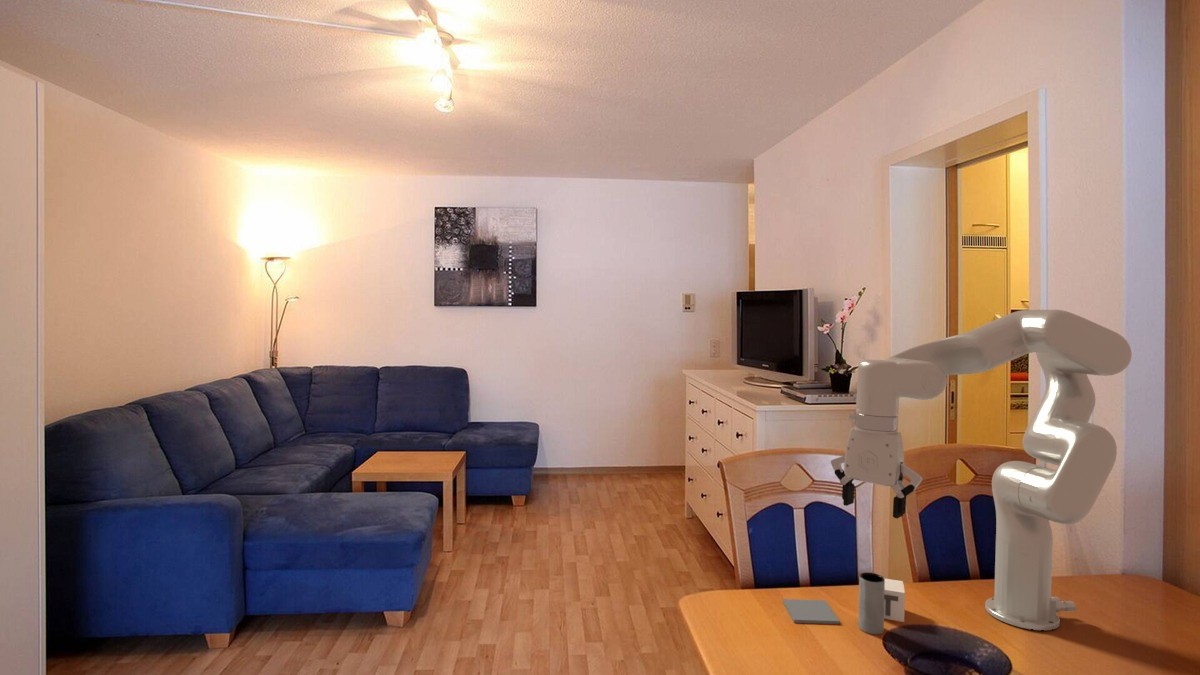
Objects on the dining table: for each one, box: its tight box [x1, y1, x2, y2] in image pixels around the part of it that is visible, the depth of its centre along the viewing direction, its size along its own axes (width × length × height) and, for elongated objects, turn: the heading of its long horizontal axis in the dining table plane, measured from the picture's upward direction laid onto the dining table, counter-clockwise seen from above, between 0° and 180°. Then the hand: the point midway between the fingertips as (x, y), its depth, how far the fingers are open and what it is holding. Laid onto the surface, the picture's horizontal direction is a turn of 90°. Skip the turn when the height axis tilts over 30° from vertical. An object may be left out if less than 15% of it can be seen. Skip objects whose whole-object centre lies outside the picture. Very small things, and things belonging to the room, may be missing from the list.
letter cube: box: [883, 577, 906, 623], centre depth 127 cm, size 6×6×6 cm
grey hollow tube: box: [857, 572, 886, 635], centre depth 120 cm, size 4×4×10 cm
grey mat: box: [782, 598, 841, 625], centre depth 127 cm, size 9×9×1 cm
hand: (872, 510), depth 120 cm, fingers open, 9 cm apart
